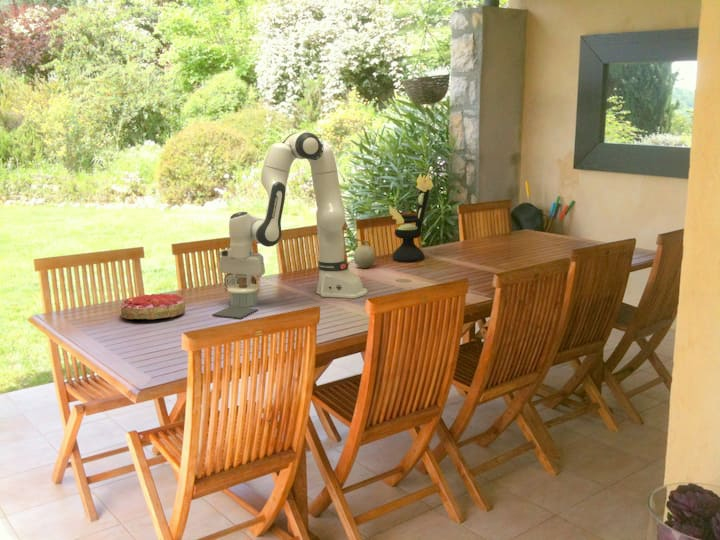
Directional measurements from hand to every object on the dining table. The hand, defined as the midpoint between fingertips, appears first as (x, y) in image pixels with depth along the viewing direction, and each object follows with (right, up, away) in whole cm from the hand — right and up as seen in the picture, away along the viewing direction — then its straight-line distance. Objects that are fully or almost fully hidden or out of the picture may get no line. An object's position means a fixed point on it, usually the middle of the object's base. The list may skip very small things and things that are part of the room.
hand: (242, 284), depth 322 cm
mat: (-1, -11, -13) cm, 17 cm away
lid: (0, -2, +1) cm, 2 cm away
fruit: (+51, +7, +67) cm, 85 cm away
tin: (-5, -4, +24) cm, 25 cm away
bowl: (0, -8, +2) cm, 8 cm away
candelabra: (+76, +12, +85) cm, 115 cm away
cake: (-34, -12, -13) cm, 38 cm away
